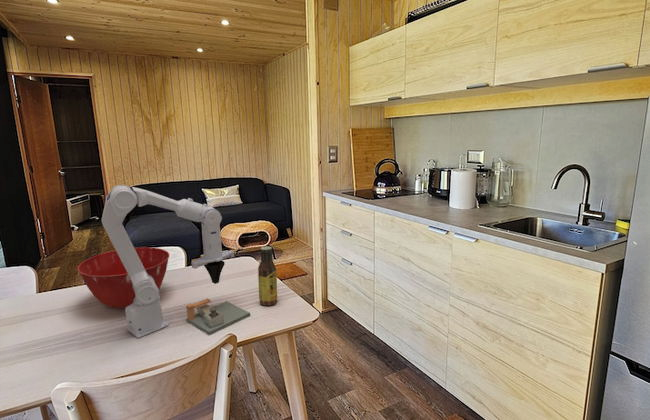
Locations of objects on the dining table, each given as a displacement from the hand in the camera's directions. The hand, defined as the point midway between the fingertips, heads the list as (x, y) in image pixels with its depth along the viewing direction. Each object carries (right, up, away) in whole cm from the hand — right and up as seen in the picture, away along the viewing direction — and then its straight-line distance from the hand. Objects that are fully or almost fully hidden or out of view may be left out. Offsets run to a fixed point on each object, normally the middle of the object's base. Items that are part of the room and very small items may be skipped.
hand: (215, 282), depth 123 cm
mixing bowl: (-33, -8, +10) cm, 35 cm away
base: (+2, -11, -4) cm, 12 cm away
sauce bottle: (+17, -8, +6) cm, 20 cm away
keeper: (-4, -11, -4) cm, 12 cm away
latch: (0, -10, -6) cm, 12 cm away
